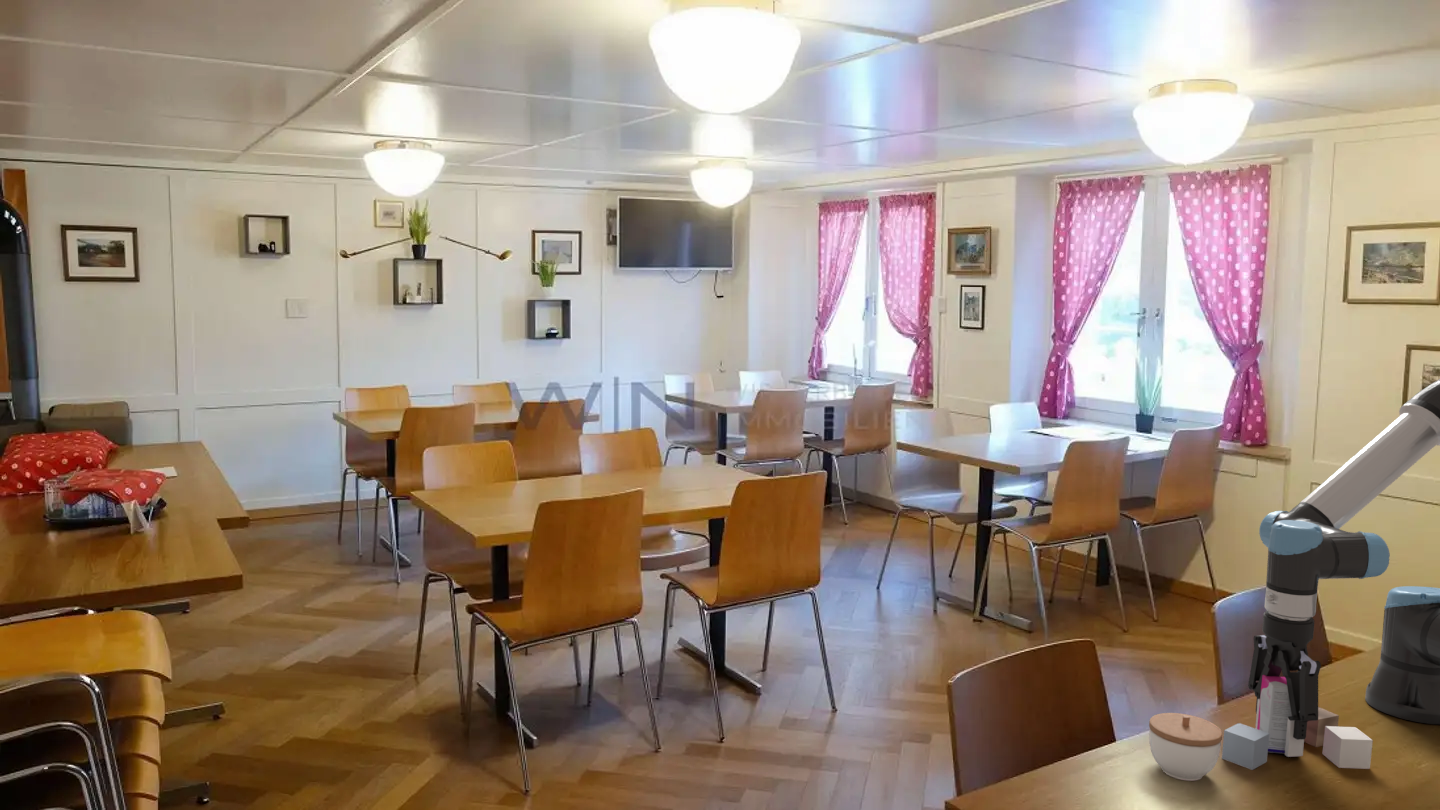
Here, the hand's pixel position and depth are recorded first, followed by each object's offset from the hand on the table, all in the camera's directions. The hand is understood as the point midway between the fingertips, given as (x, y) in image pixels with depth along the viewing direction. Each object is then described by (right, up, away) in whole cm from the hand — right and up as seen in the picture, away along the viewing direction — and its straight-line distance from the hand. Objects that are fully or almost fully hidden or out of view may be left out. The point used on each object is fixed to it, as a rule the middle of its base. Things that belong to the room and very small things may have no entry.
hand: (1278, 744), depth 179 cm
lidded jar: (-20, -2, -9) cm, 22 cm away
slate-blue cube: (-8, -1, -4) cm, 9 cm away
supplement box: (0, 0, 0) cm, 1 cm away
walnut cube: (+9, -1, +5) cm, 10 cm away
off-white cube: (+9, -2, -4) cm, 10 cm away
